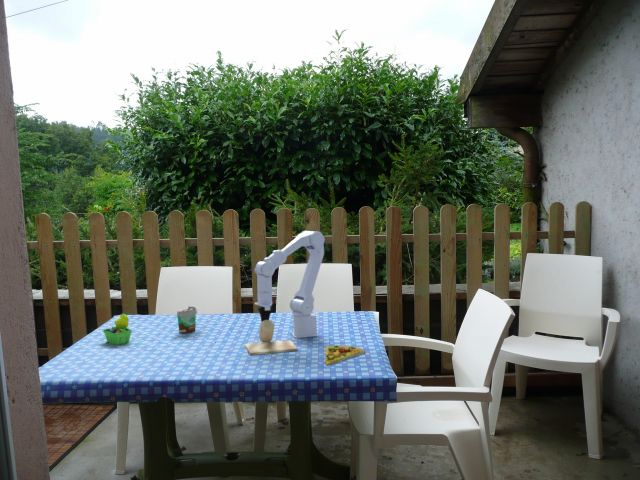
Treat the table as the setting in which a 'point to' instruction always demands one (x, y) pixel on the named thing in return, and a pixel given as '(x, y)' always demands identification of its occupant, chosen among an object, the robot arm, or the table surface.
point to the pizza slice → (341, 353)
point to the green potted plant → (119, 331)
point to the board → (270, 347)
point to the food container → (187, 320)
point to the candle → (266, 331)
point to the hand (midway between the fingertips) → (265, 325)
